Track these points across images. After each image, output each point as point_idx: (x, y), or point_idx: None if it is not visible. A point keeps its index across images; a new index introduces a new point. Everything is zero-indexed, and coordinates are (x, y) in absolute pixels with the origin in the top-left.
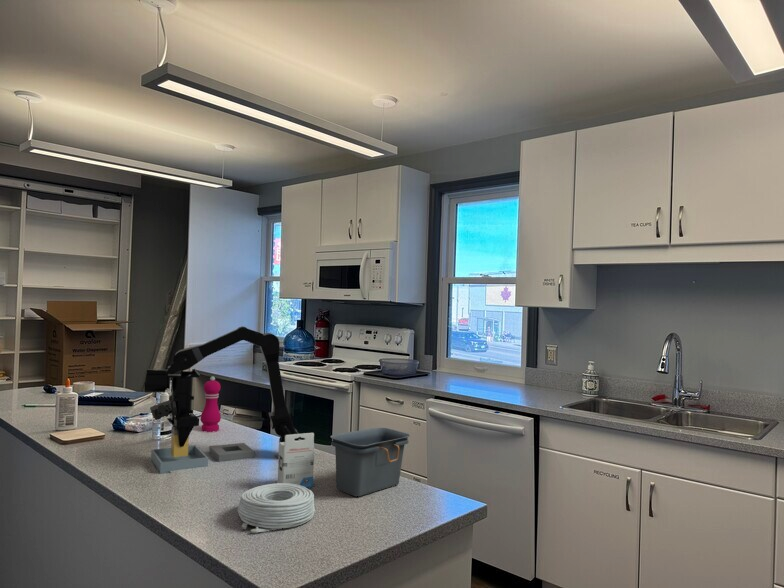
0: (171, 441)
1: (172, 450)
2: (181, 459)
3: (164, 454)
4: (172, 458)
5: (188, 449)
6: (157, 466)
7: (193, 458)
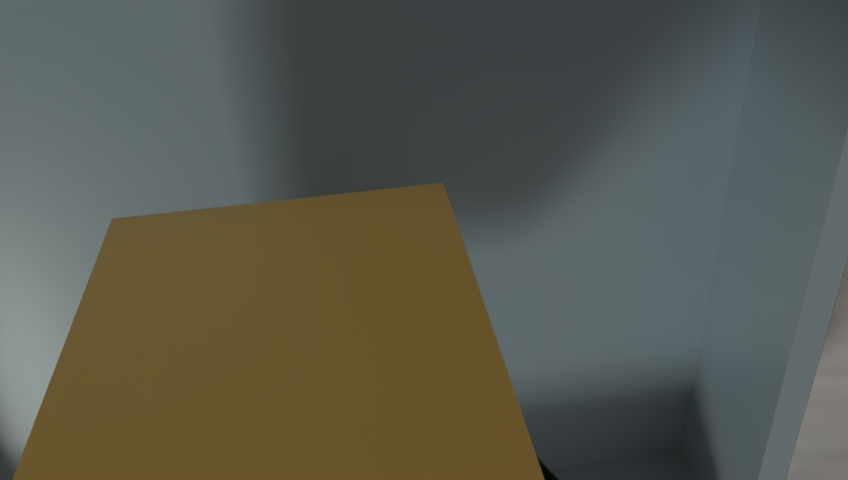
0: (502, 385)
1: (272, 269)
2: None
3: (781, 48)
4: (577, 162)
5: (729, 446)
6: None
7: None
